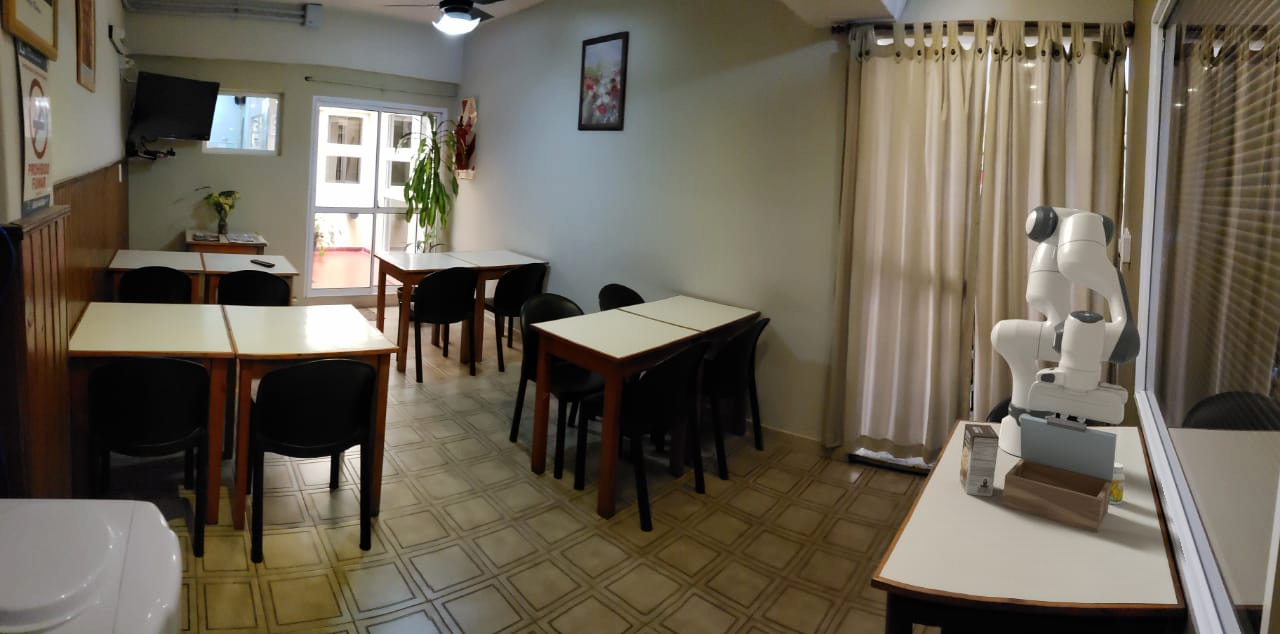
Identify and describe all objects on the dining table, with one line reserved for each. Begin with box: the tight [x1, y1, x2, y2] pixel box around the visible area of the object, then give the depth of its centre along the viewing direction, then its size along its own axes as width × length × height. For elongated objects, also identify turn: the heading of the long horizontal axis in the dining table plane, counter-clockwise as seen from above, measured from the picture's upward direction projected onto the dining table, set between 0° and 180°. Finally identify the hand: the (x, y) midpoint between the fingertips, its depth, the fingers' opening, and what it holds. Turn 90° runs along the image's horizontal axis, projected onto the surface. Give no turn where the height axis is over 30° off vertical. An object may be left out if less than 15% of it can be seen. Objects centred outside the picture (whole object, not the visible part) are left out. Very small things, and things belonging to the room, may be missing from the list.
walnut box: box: [1001, 458, 1112, 534], centre depth 172 cm, size 14×20×8 cm
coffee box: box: [959, 423, 999, 497], centre depth 183 cm, size 9×6×16 cm
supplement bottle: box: [1109, 461, 1126, 505], centre depth 177 cm, size 5×5×10 cm
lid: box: [1020, 415, 1117, 481], centre depth 173 cm, size 15×20×2 cm
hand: (1070, 432), depth 175 cm, fingers closed
